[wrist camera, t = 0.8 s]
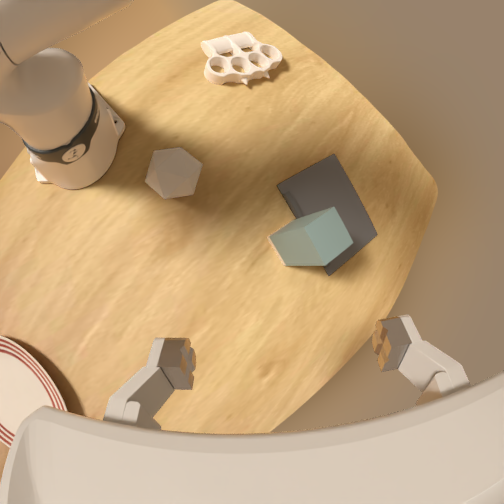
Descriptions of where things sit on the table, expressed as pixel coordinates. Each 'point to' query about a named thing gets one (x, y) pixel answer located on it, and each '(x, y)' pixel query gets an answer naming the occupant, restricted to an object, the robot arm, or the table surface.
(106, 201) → the table surface
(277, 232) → the block
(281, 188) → the charcoal mat
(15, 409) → the dinner plate
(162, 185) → the die
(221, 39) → the white multi-hole holder
